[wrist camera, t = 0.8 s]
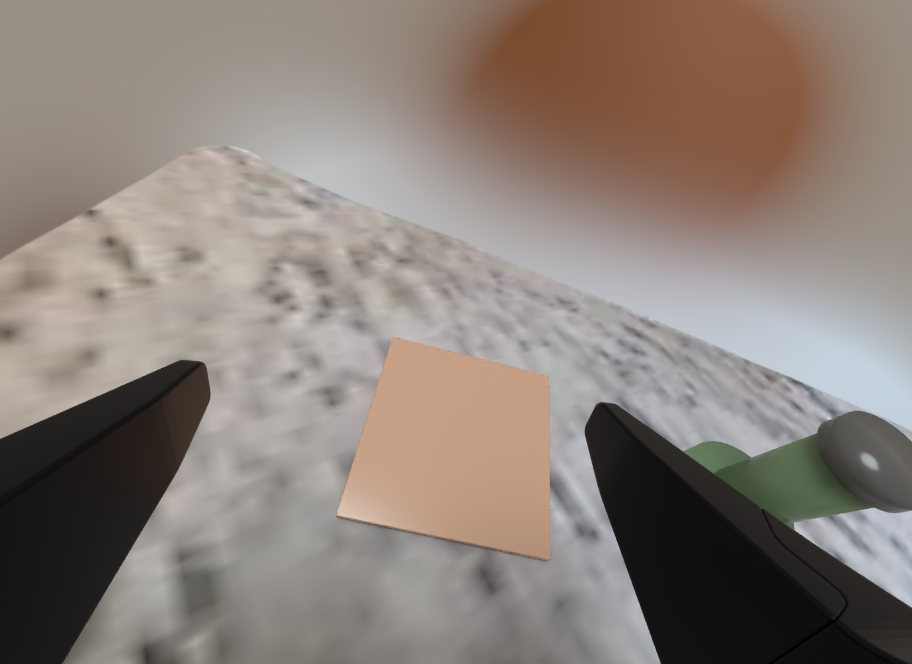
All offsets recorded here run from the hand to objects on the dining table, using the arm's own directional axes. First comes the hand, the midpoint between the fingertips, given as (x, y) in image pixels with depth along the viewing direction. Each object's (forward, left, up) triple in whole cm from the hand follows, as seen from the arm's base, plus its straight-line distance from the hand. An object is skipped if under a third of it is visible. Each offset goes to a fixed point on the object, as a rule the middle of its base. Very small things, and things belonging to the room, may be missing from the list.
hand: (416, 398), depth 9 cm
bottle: (-11, -14, -15) cm, 24 cm away
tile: (+1, -7, -15) cm, 17 cm away
